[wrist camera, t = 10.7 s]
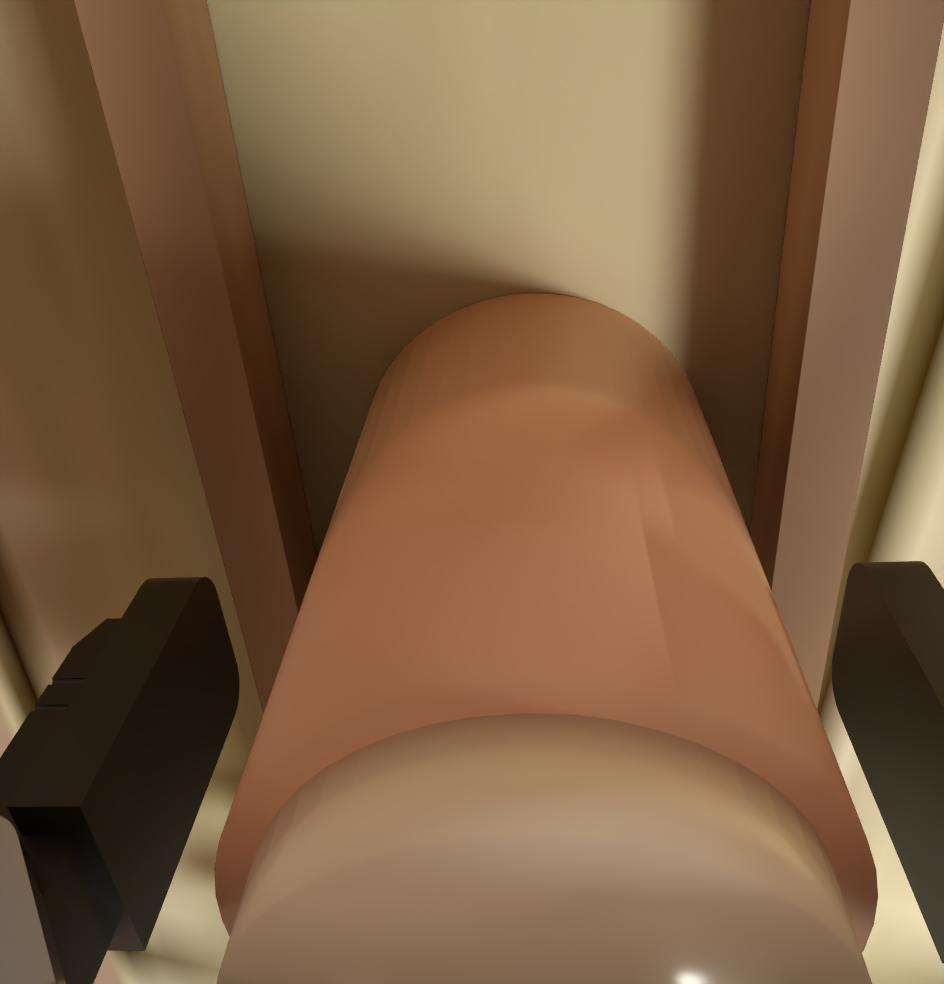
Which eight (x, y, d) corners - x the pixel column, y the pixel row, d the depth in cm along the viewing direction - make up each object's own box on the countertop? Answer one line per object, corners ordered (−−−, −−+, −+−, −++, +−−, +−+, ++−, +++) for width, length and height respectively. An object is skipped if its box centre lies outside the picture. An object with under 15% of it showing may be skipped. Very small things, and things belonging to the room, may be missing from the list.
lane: (919, -151, 10) (1128, -205, 6) (752, 909, 20) (799, 1106, 16) (108, -79, 11) (-90, -94, 7) (344, 907, 21) (308, 1095, 17)
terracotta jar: (647, 614, 16) (762, 1244, 8) (347, 559, 15) (170, 1157, 8) (753, 332, 13) (1087, 889, 5) (389, 259, 13) (176, 733, 5)
